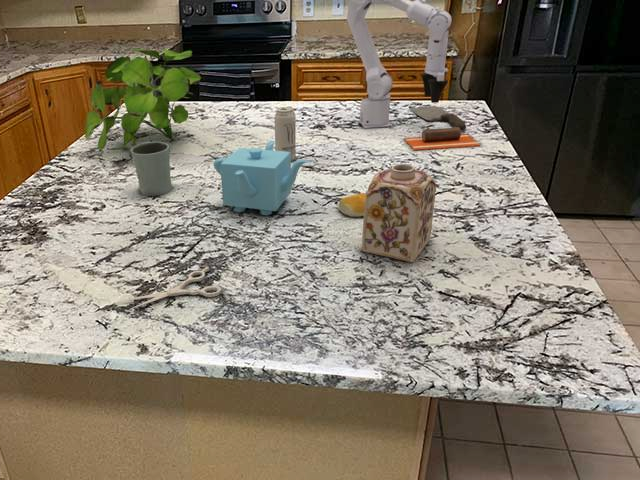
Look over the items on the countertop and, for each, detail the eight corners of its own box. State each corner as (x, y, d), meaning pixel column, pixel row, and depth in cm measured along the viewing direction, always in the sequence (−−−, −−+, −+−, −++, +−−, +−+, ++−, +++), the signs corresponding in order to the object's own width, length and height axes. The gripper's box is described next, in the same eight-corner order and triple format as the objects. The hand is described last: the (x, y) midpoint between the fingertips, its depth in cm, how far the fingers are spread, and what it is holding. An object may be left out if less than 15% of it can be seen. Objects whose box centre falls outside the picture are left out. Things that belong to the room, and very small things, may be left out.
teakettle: (211, 200, 159) (206, 145, 151) (275, 186, 164) (274, 132, 157) (240, 228, 144) (236, 168, 136) (310, 211, 150) (310, 153, 142)
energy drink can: (285, 164, 178) (284, 113, 170) (271, 160, 182) (270, 109, 174) (299, 159, 182) (299, 108, 174) (285, 155, 186) (284, 105, 178)
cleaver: (472, 130, 195) (473, 123, 194) (443, 133, 194) (444, 126, 193) (434, 108, 220) (434, 102, 219) (408, 110, 219) (408, 104, 218)
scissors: (229, 288, 119) (131, 317, 112) (229, 292, 119) (132, 320, 112) (207, 266, 127) (115, 291, 120) (208, 269, 127) (116, 295, 120)
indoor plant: (217, 140, 179) (158, 49, 163) (109, 199, 195) (45, 121, 179) (231, 85, 212) (182, 5, 197) (137, 139, 228) (86, 69, 213)
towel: (414, 150, 183) (414, 149, 182) (404, 139, 192) (404, 138, 192) (480, 146, 183) (480, 144, 183) (466, 135, 192) (466, 133, 192)
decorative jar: (413, 264, 125) (422, 181, 115) (360, 252, 130) (364, 172, 121) (431, 240, 133) (441, 161, 123) (380, 230, 138) (386, 154, 129)
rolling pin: (424, 144, 187) (426, 133, 185) (420, 138, 190) (422, 127, 187) (459, 141, 187) (461, 130, 185) (455, 135, 190) (457, 125, 187)
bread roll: (383, 210, 148) (384, 195, 146) (355, 220, 144) (356, 204, 142) (359, 200, 154) (360, 185, 151) (332, 209, 150) (333, 194, 148)
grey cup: (180, 185, 169) (175, 143, 162) (161, 199, 161) (156, 155, 155) (149, 181, 173) (143, 140, 166) (129, 194, 165) (123, 151, 159)
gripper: (456, 58, 182) (450, 104, 189) (442, 49, 194) (437, 93, 201) (433, 59, 182) (428, 105, 189) (420, 50, 194) (416, 94, 202)
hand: (431, 99), depth 195 cm, fingers open, 7 cm apart
